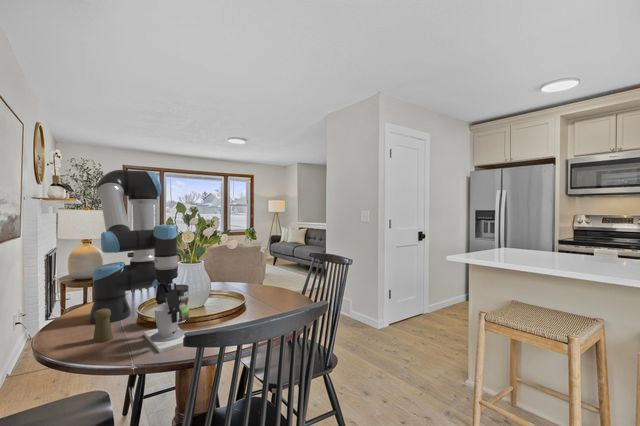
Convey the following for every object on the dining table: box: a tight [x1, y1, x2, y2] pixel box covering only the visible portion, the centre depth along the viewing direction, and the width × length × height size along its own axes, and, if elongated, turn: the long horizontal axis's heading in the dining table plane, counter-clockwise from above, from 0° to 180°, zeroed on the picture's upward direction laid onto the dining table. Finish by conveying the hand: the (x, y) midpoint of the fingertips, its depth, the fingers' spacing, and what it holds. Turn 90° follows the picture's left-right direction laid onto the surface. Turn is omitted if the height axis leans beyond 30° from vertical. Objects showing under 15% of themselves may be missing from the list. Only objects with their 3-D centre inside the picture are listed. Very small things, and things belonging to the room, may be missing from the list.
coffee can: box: [165, 284, 190, 325], centre depth 135 cm, size 10×10×14 cm
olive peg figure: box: [92, 309, 114, 344], centre depth 116 cm, size 6×6×11 cm
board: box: [143, 326, 186, 353], centre depth 116 cm, size 20×11×2 cm, turn 42°
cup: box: [153, 304, 179, 338], centre depth 116 cm, size 8×8×10 cm
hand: (167, 326), depth 116 cm, fingers open, 13 cm apart
